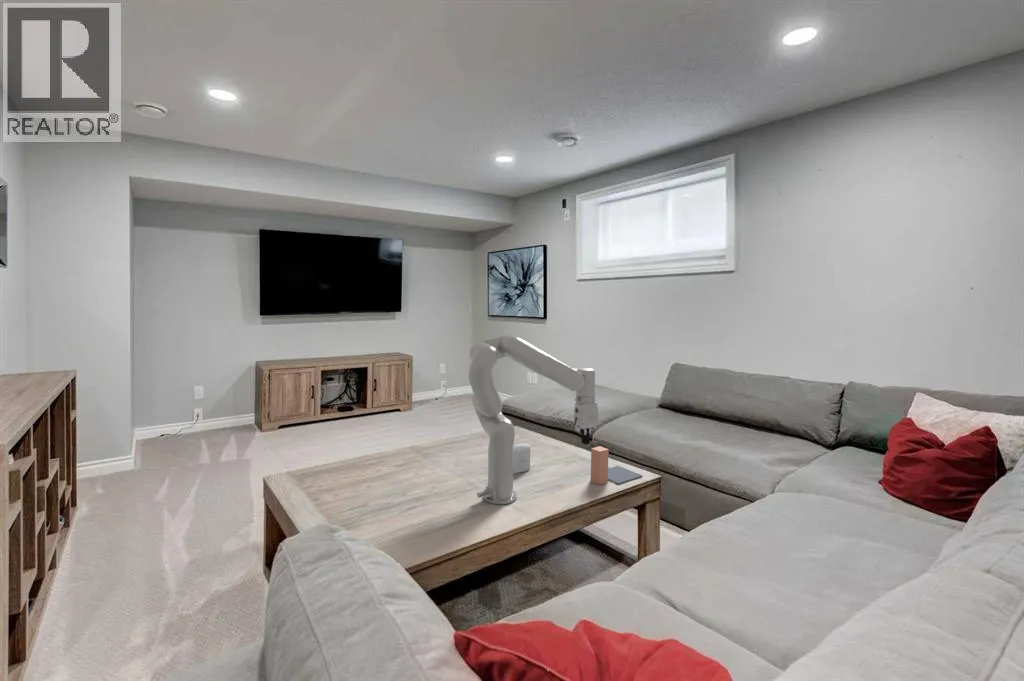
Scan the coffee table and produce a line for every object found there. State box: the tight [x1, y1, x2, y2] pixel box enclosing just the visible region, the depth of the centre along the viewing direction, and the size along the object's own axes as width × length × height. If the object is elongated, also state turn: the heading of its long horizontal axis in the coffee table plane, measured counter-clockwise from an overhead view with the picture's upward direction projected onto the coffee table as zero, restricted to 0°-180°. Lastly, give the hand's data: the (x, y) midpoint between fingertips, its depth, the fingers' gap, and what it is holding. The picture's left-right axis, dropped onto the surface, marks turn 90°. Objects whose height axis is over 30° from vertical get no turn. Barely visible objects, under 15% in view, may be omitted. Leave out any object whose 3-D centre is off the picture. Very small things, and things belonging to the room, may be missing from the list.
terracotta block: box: [590, 445, 610, 486], centre depth 199 cm, size 5×5×14 cm
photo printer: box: [513, 442, 531, 475], centre depth 210 cm, size 10×4×12 cm, turn 123°
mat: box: [608, 465, 643, 485], centre depth 207 cm, size 15×14×1 cm
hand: (585, 443), depth 193 cm, fingers closed
